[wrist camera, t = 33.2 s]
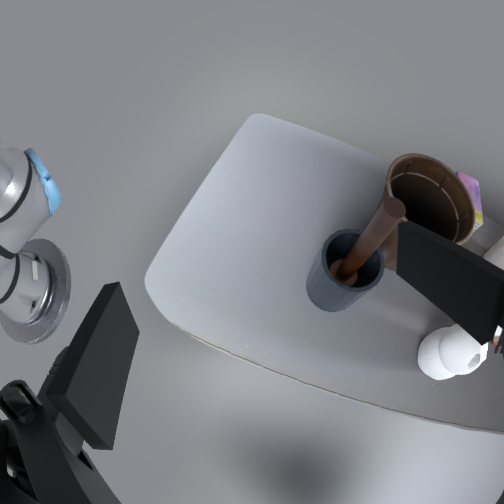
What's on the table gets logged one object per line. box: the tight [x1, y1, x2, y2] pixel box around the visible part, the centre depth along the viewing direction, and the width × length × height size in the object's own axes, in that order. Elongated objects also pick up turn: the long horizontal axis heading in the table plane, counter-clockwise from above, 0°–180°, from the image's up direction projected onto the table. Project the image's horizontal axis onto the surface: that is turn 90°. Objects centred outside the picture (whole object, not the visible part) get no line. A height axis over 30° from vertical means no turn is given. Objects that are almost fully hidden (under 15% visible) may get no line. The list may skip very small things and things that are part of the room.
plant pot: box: [375, 153, 476, 271], centre depth 43 cm, size 16×16×16 cm
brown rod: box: [329, 197, 406, 287], centre depth 35 cm, size 4×4×24 cm
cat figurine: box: [418, 324, 488, 380], centre depth 34 cm, size 9×12×15 cm
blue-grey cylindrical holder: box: [306, 229, 384, 312], centre depth 41 cm, size 9×9×12 cm
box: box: [456, 171, 483, 232], centre depth 46 cm, size 10×6×12 cm, turn 159°
